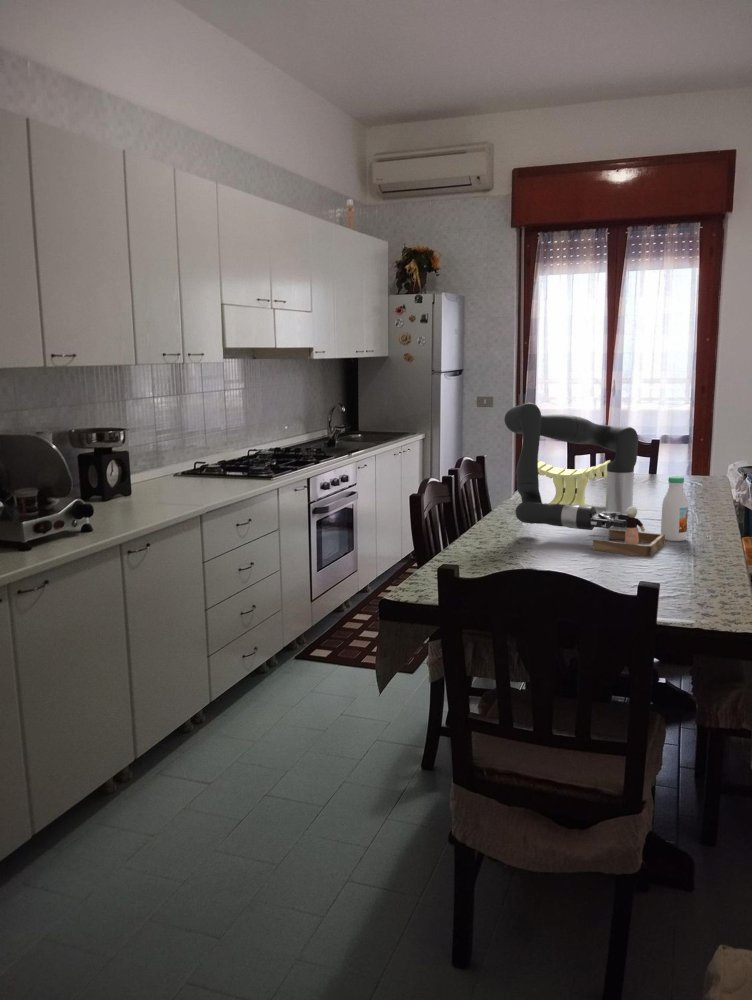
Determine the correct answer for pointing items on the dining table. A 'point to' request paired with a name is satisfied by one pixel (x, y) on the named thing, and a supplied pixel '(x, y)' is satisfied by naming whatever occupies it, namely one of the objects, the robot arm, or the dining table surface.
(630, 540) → the grandmother figurine
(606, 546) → the box
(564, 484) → the slatted curved stool
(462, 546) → the dining table surface
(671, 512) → the milk bottle
